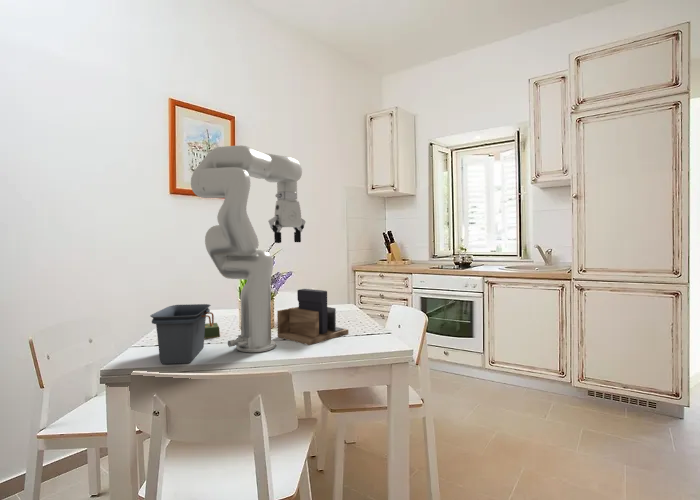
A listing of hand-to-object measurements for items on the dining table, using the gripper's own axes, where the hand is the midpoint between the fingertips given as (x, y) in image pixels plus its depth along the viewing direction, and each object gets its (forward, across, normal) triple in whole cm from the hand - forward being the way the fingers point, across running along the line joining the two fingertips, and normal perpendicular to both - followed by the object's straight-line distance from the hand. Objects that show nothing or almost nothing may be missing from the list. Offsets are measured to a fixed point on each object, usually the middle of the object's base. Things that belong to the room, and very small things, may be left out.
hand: (287, 242), depth 160 cm
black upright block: (+32, -1, -15) cm, 35 cm away
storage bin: (+33, -43, -3) cm, 55 cm away
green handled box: (+34, -30, +17) cm, 48 cm away
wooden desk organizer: (+33, -1, -15) cm, 36 cm away
